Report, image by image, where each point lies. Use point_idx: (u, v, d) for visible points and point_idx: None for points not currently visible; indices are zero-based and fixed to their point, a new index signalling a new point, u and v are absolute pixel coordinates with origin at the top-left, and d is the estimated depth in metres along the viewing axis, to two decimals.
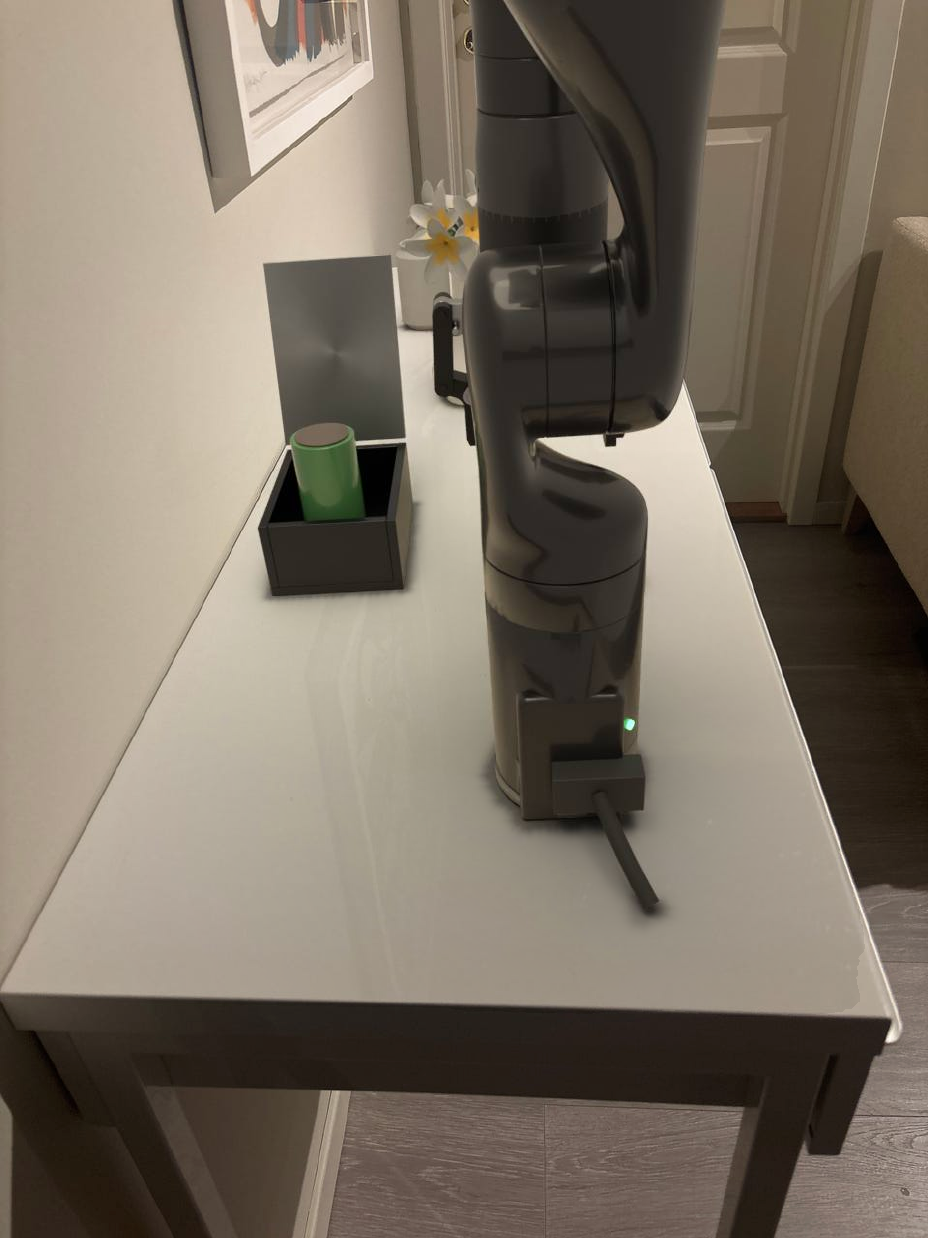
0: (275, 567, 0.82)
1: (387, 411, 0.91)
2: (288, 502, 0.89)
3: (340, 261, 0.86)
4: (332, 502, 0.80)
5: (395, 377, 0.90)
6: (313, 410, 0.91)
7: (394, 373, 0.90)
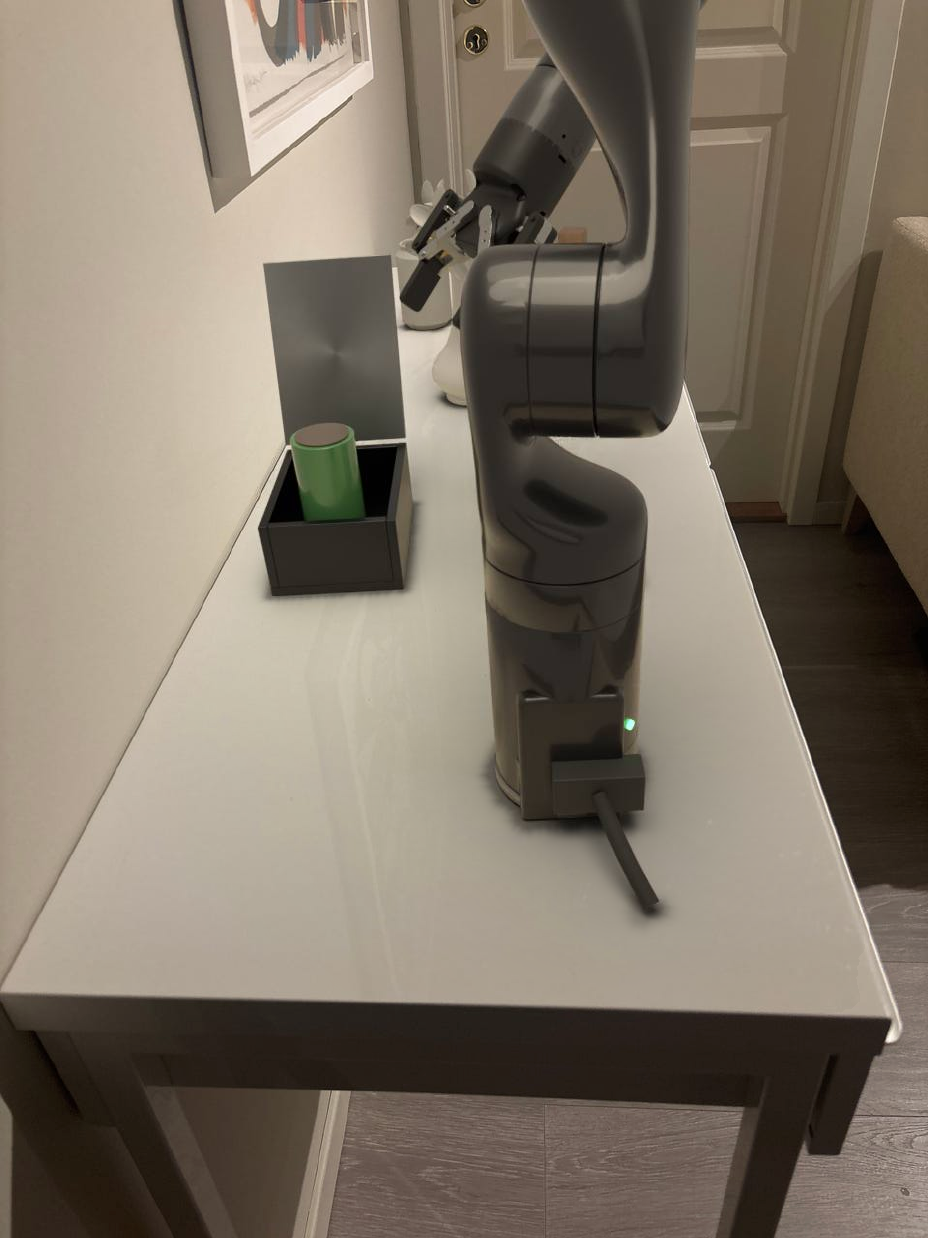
0: (275, 567, 0.82)
1: (387, 411, 0.91)
2: (288, 502, 0.89)
3: (340, 261, 0.86)
4: (332, 502, 0.80)
5: (395, 377, 0.90)
6: (313, 410, 0.91)
7: (394, 373, 0.90)
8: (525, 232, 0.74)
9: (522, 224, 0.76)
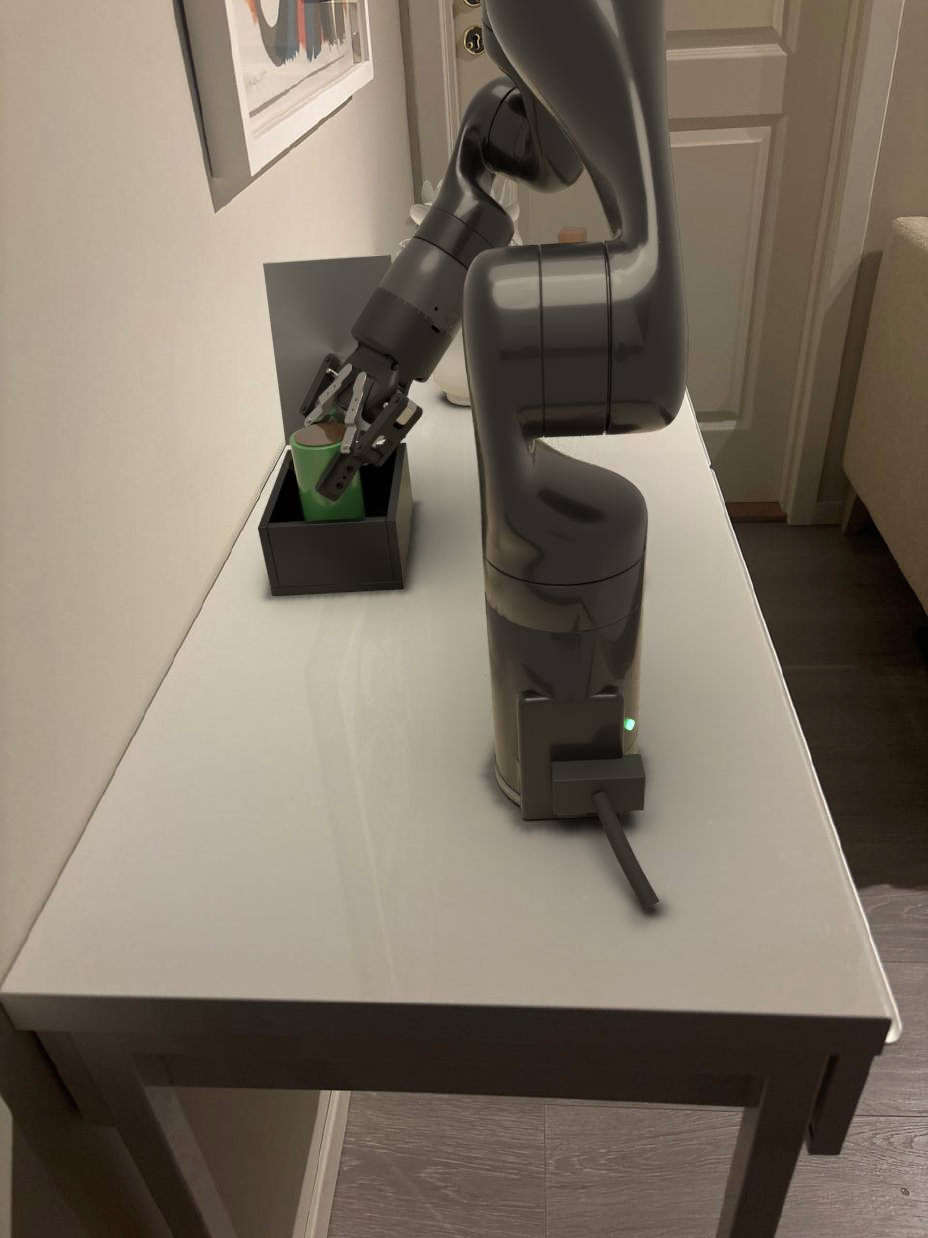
0: (275, 567, 0.82)
1: None
2: (288, 502, 0.89)
3: (340, 261, 0.86)
4: (332, 502, 0.80)
5: None
6: None
7: None
8: (387, 412, 0.75)
9: (395, 393, 0.77)
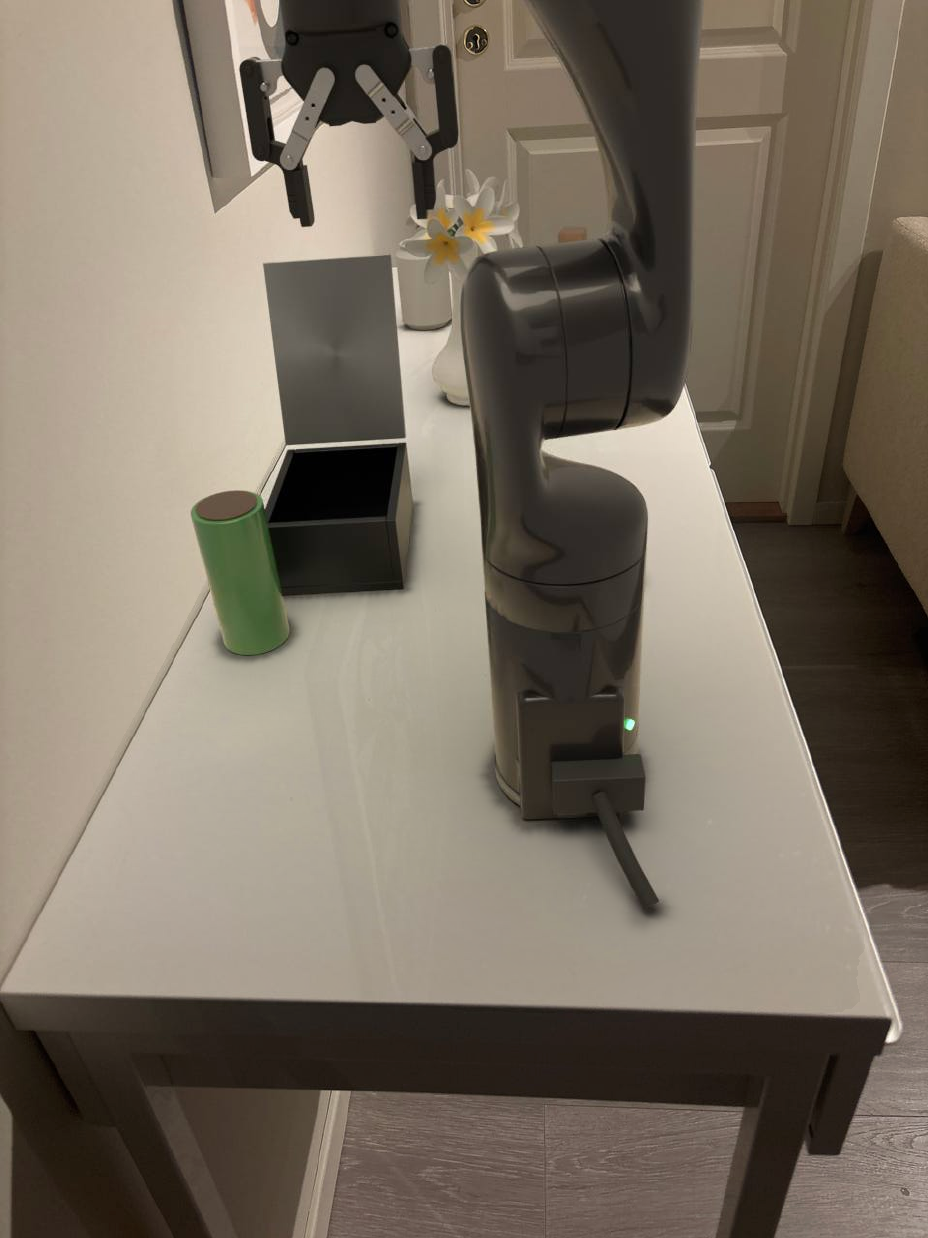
0: None
1: (387, 411, 0.91)
2: (288, 502, 0.89)
3: (340, 261, 0.86)
4: (239, 579, 0.73)
5: (395, 377, 0.90)
6: (313, 410, 0.91)
7: (394, 373, 0.90)
8: (444, 77, 0.62)
9: (414, 61, 0.62)
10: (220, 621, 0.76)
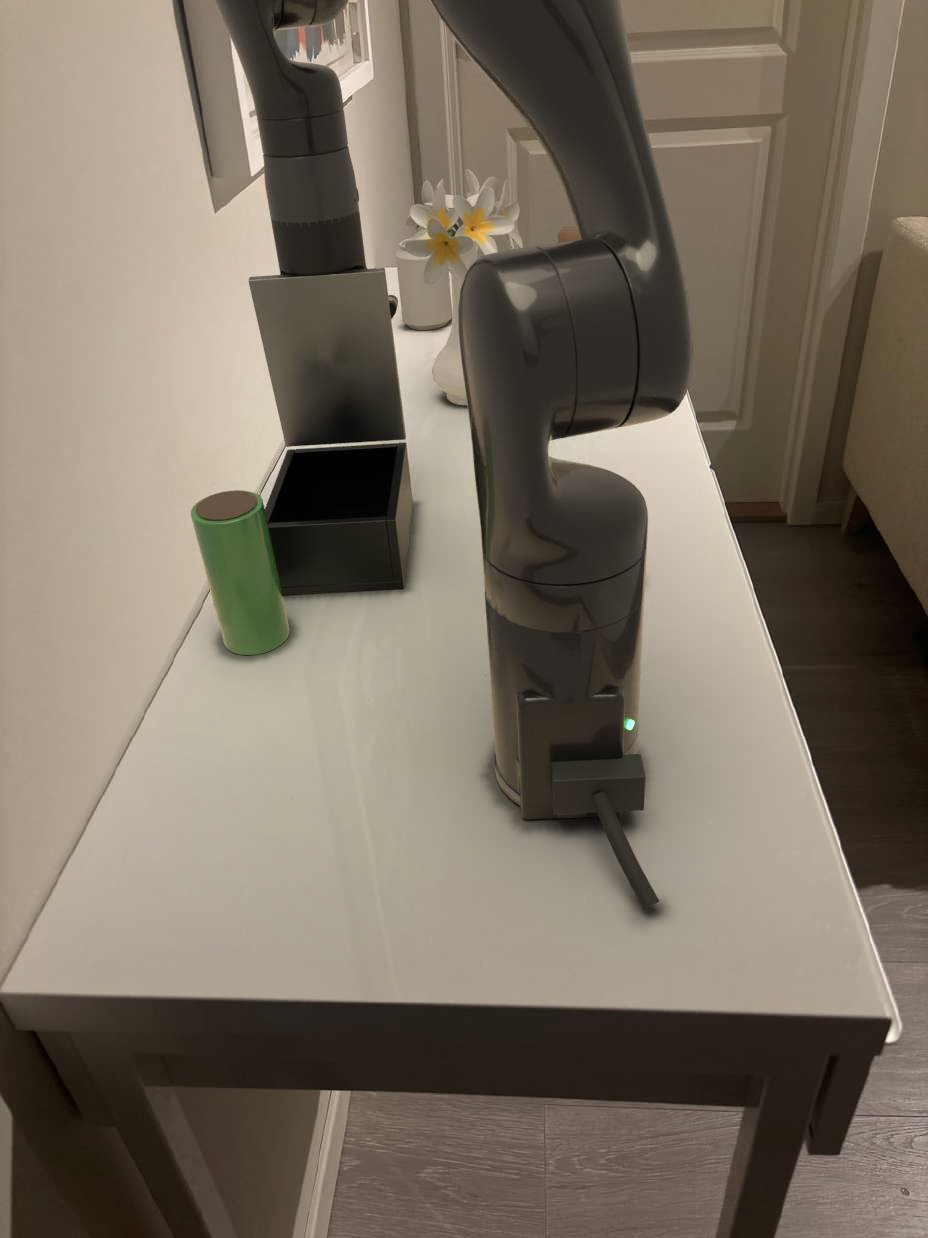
0: None
1: (386, 417, 0.90)
2: (288, 502, 0.89)
3: (330, 278, 0.81)
4: (239, 579, 0.73)
5: (393, 386, 0.88)
6: (311, 416, 0.90)
7: (392, 383, 0.88)
8: None
9: None
10: (220, 621, 0.76)
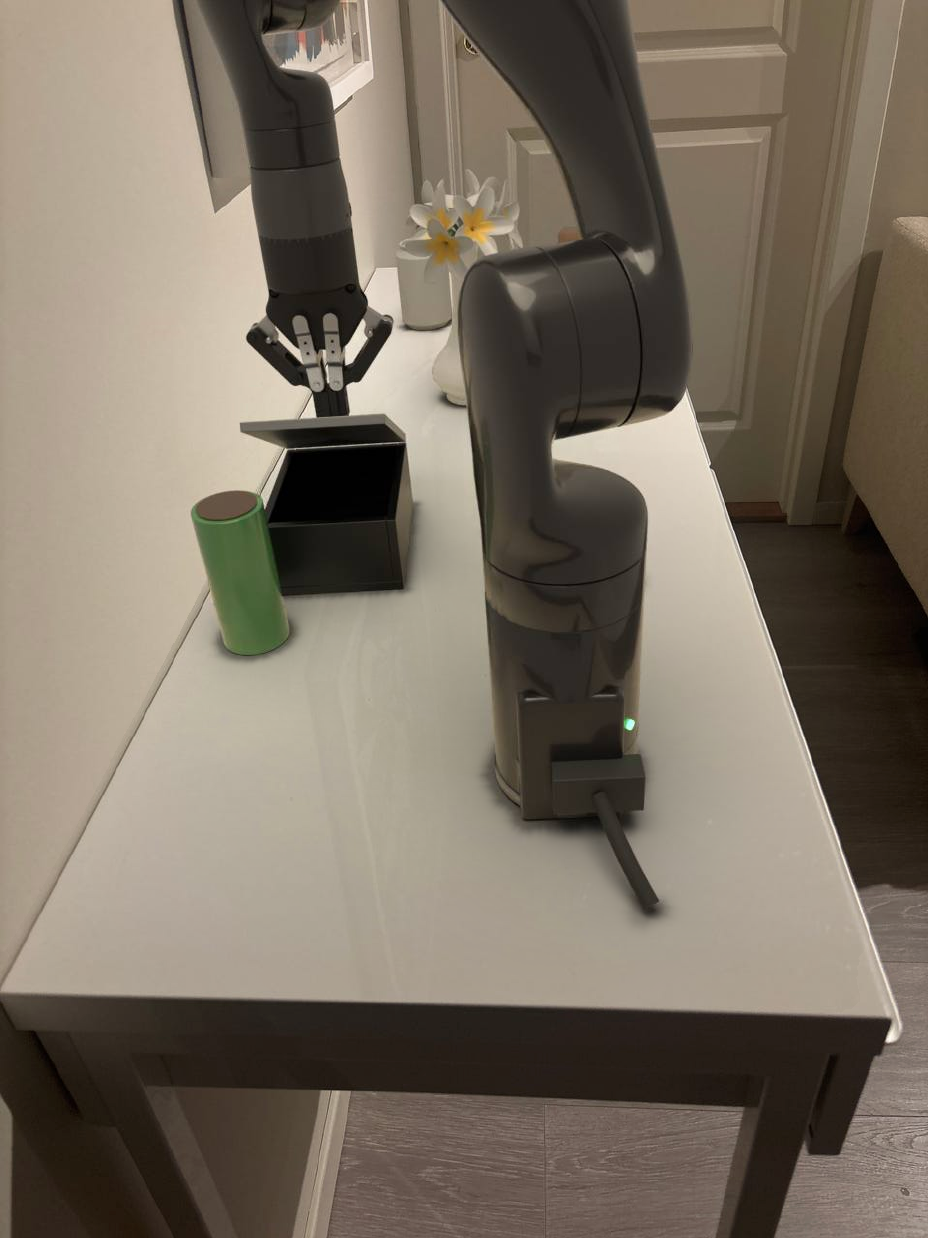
0: None
1: (386, 440, 0.90)
2: (288, 502, 0.89)
3: (328, 427, 0.76)
4: (239, 579, 0.73)
5: (394, 436, 0.86)
6: (311, 444, 0.89)
7: (393, 436, 0.86)
8: (377, 342, 0.81)
9: (369, 307, 0.80)
10: (220, 621, 0.76)
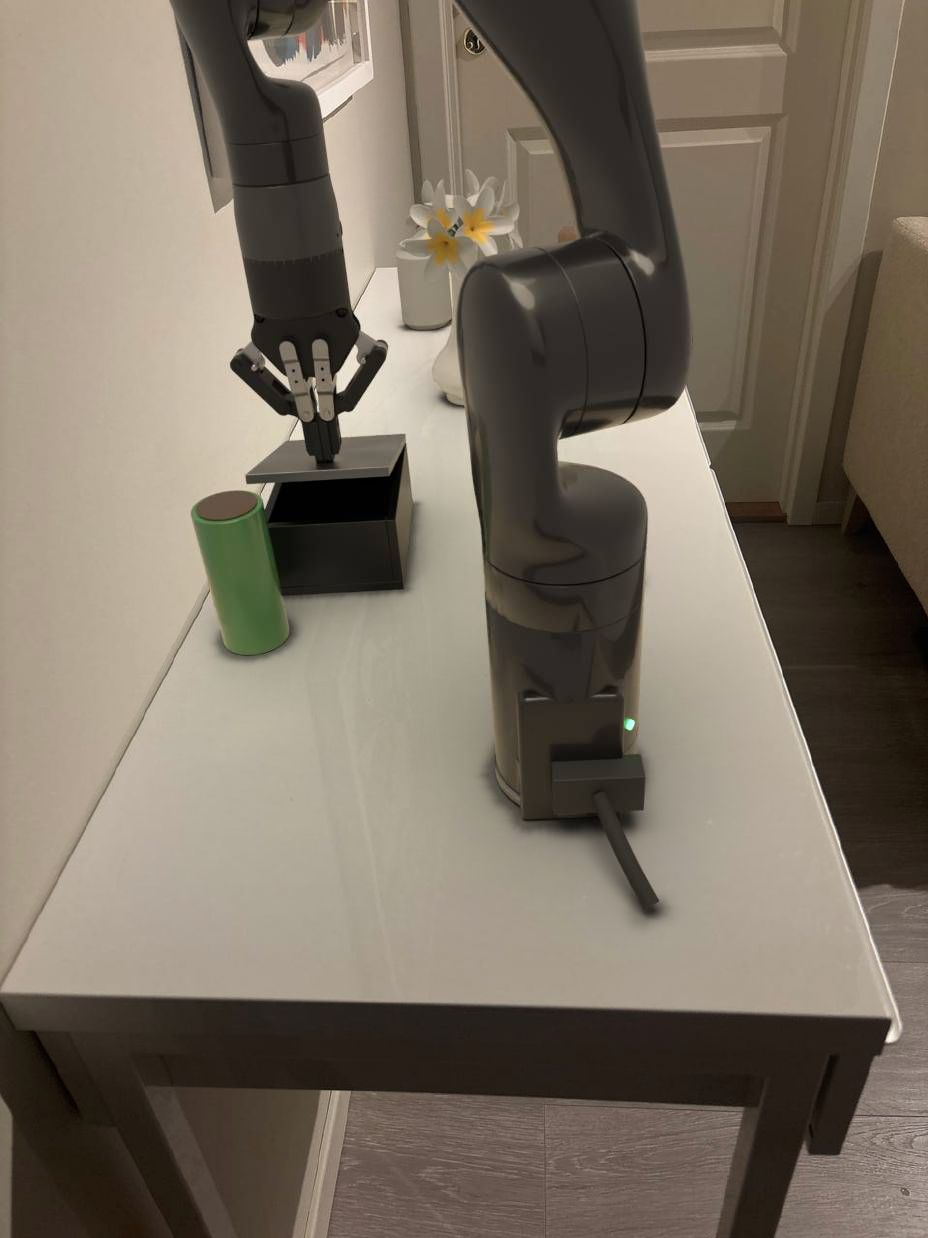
0: None
1: None
2: (288, 502, 0.89)
3: (333, 478, 0.77)
4: (239, 579, 0.73)
5: None
6: None
7: None
8: (370, 369, 0.75)
9: (361, 332, 0.74)
10: (220, 621, 0.76)
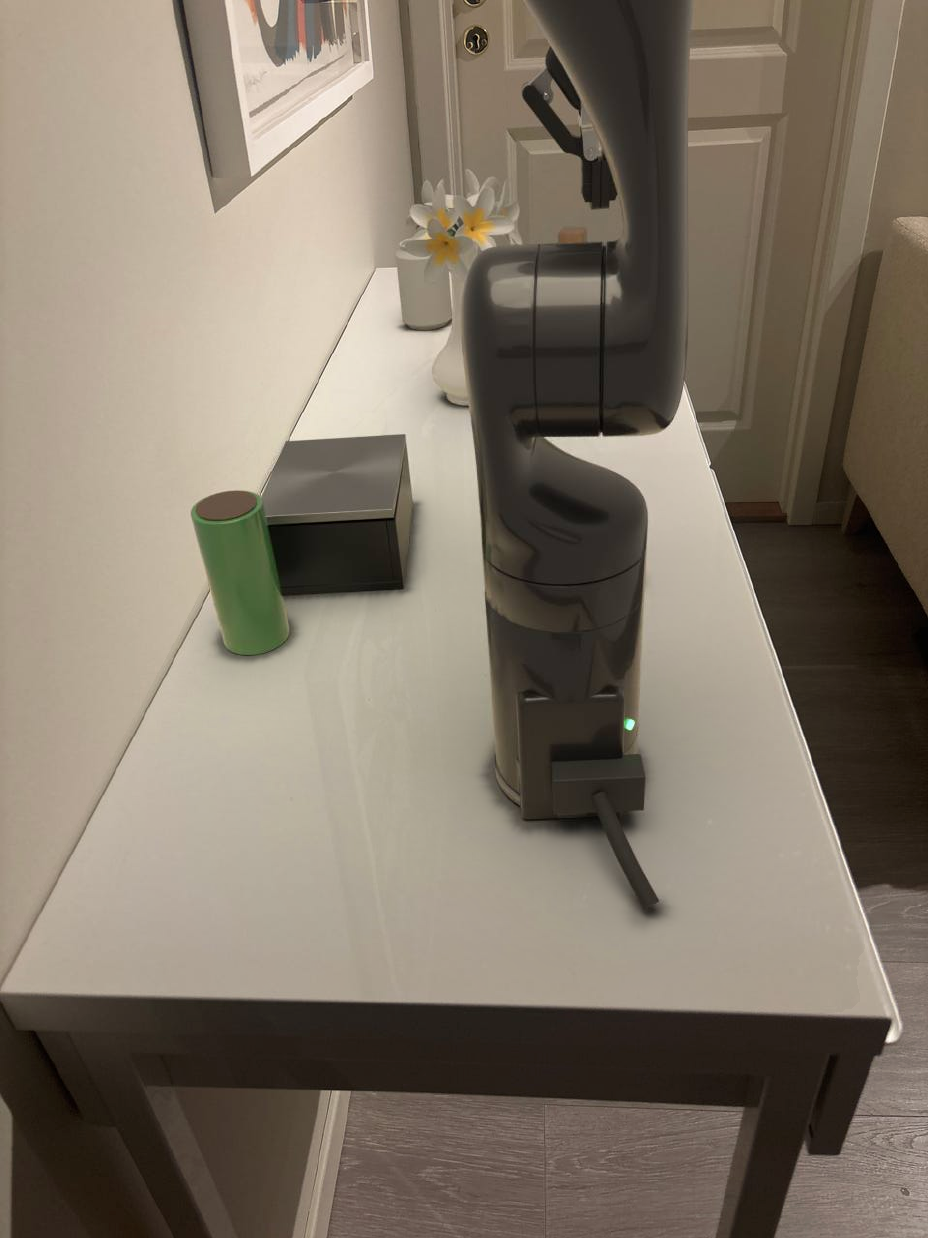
0: None
1: None
2: None
3: (338, 519, 0.79)
4: (239, 579, 0.73)
5: None
6: None
7: None
8: None
9: None
10: (220, 621, 0.76)
